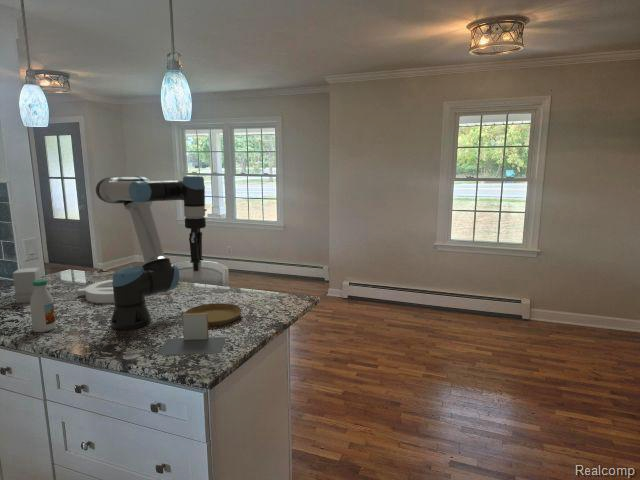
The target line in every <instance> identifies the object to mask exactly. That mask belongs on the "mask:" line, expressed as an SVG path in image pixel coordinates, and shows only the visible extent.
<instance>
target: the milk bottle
mask: <svg viewBox="0 0 640 480" xmlns="http://www.w3.org/2000/svg"><path fill="white" fill-rule="evenodd" d="M47 286H48V282H47V279H44V278H43V279H42V278H41V280H35V281H33V287H34V291H33V294H32V297H31V300H30V302H29V305H30V306H29V307H30V317H31V326H32V331H33V332H35V333H45V332H50V331H53V330H54V329H55V328H56V327H57V326H56V323H57V322H56V314H55V305H54V299H53V296H52V294H51V293H50V292H49V290H48V288H47Z"/></svg>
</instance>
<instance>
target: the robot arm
mask: <svg viewBox="0 0 640 480" xmlns="http://www.w3.org/2000/svg"><path fill="white" fill-rule="evenodd" d="M205 189H206V186H205V179H204V177H203V175H202V176H201V175H184V176H183V177H182V180H179V179H172V180H150V179H149V178H147V177H145V176H139V175H138V176H137V175H135V176H109V177H104V178H103V179H101V180H100V181H98V182H97V184H96V186H95V194H96V196H97V198H98V199H99V200H101V201H103V202H104V203H106V204H113V205H114V204H117V205H118V204H123V207H124V209H125V210H126V211H128V212H129V213H130V217H131V220H132V224H133V227H134V230H135V234H136V237H137V241H138V244H139V247H140V251H141V254H142V258H143V261H144V262H143V263H142V265H133V266H132V265H129V266H125V267H122V268H119V269H117V270H115V271H114V272H113V274H112V280H113V282H112V285H113V293H114V308H113V312H112V314H111V319H110V325H111V328H112V329H114V330H118V331H128V330H135V329H141V328H143V327H146V326H148V325H149V324H150V323H151V322H152V316H151V314H150V311H149V308H148V306H147V303H146V297H147V296H152V295H157V294H159V293H166V292H169V291H172V290H175V289H176V288H177V287H178V285H179V282H180V270H179V269H180V268H179V267H178V265H177V264H176V263H172V262H171V261H170V259H171V258H169V257H167V256H165V253H164V248H163V245H162V243H161V240H160V239H161V238H160V235H159V232H158V228H157V226H156V222H155V219H154V216H153V213H152V212H153V211H152V209H151V206H152V205H153V202H160V201H161V202H164V201H165V202H167V201H168V202H169V201H170V202H171V201H183V207H184V208H183V214H184V217H185V218H184V227H185V229H188V230H189V229H190V232H189V237H188V242H189V250H190V261H189V263H191V264H192V280H201V278H203V277H202V272H203V271H202V261H204V258H203V233H202V231H201V229H205V228H206V225H207V224H206V223H207V222H206V221H207V220H206V218H205V217H206V211H207V210H208V209H207V208H206V193H205V192H206V191H205Z"/></svg>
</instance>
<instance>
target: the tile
mask: <svg viewBox="0 0 640 480" xmlns="http://www.w3.org/2000/svg"><path fill="white" fill-rule="evenodd" d="M182 332H183V338H184V340H207V339H209V338H210V336H209V326H208V313H199V314H185V313H183V314H182Z"/></svg>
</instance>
